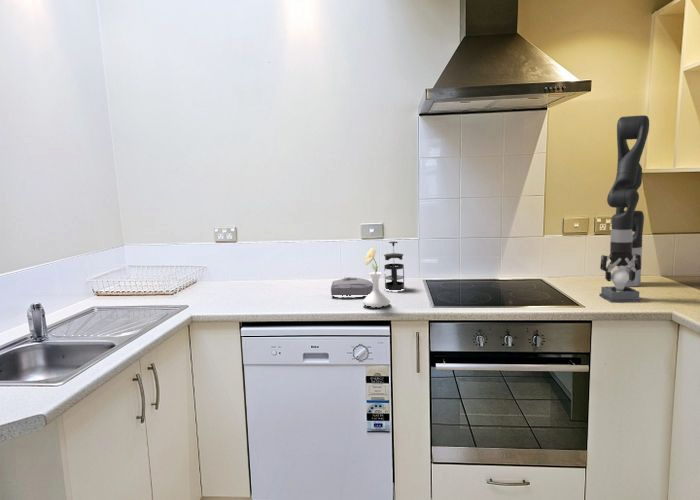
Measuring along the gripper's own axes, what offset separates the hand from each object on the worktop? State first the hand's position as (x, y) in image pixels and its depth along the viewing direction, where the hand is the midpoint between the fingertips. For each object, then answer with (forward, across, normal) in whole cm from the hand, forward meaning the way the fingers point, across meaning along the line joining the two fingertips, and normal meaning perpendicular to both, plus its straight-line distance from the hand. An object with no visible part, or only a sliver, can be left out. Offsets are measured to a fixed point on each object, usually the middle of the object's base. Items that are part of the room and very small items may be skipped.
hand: (619, 280), depth 187 cm
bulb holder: (+7, 0, 0) cm, 7 cm away
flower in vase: (+7, +97, +8) cm, 98 cm away
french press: (+8, +90, -22) cm, 93 cm away
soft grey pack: (+8, +109, -13) cm, 110 cm away
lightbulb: (+7, 0, 0) cm, 7 cm away
